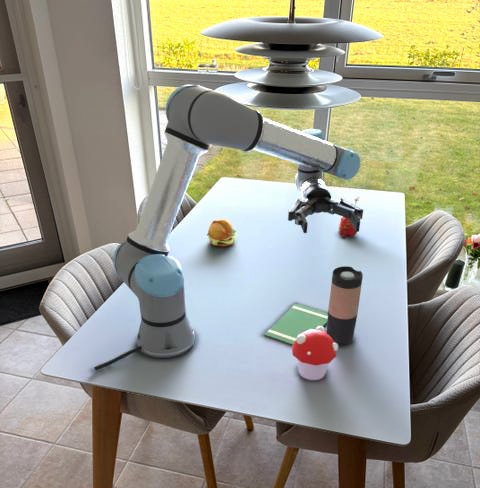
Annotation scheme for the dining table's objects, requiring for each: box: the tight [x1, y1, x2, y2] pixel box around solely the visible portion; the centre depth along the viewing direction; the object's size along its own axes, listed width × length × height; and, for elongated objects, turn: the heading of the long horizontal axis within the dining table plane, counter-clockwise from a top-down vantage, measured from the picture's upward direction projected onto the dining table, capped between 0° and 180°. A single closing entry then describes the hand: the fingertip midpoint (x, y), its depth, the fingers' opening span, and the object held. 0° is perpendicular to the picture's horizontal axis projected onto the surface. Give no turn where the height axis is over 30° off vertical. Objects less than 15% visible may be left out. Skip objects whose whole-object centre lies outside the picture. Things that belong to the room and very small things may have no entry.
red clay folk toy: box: [338, 196, 360, 239], centre depth 190 cm, size 8×7×15 cm
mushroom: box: [291, 326, 339, 381], centre depth 122 cm, size 11×11×12 cm
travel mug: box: [325, 265, 364, 347], centre depth 132 cm, size 8×8×20 cm
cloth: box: [264, 303, 328, 346], centre depth 143 cm, size 19×12×1 cm, turn 148°
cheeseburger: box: [206, 218, 237, 247], centre depth 187 cm, size 10×11×10 cm
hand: (332, 227), depth 130 cm, fingers open, 13 cm apart
